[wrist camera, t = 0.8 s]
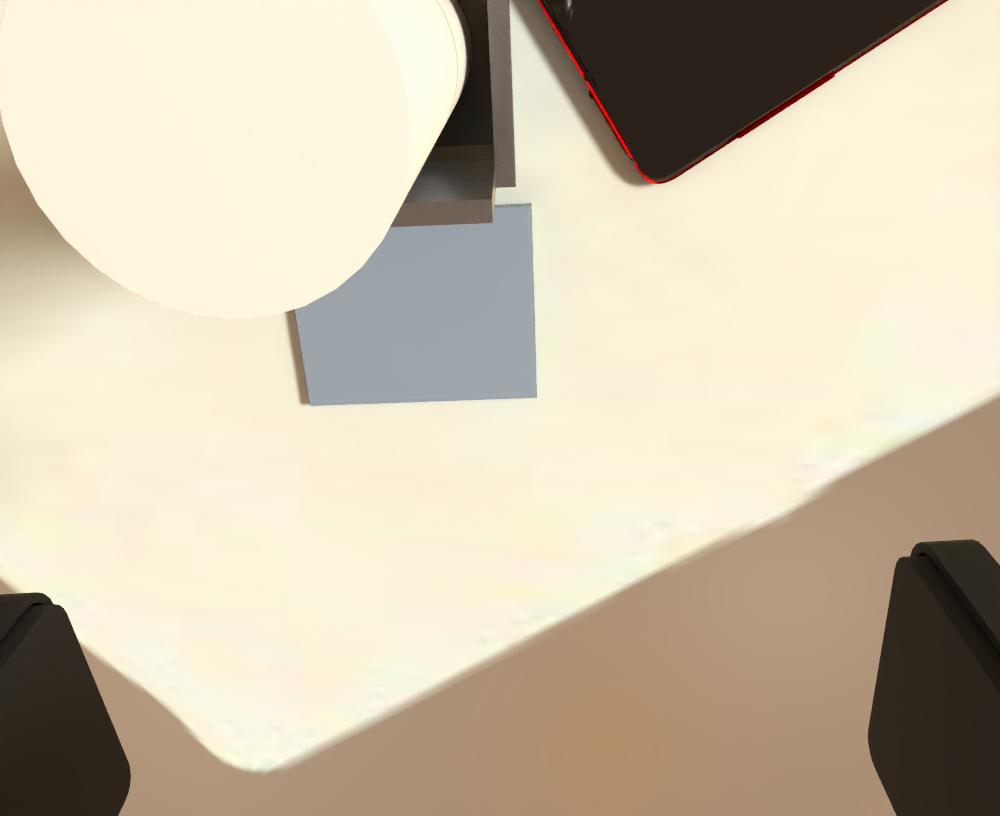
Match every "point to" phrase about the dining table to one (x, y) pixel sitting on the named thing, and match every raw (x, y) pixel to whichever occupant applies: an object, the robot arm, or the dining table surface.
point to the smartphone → (712, 64)
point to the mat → (429, 318)
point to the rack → (470, 152)
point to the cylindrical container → (227, 136)
